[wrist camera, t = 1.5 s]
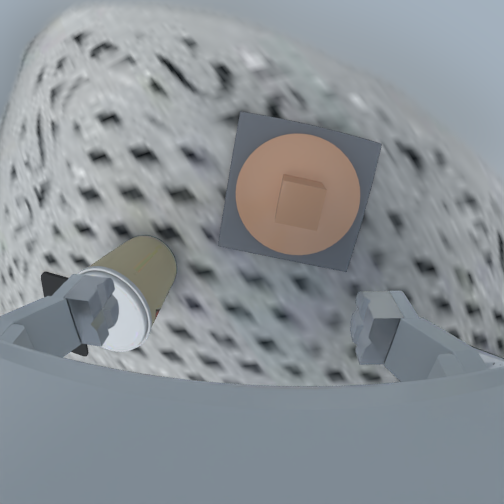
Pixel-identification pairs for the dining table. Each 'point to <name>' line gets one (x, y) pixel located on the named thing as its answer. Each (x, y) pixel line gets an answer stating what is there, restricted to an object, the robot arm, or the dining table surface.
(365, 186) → the mat
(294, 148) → the lid
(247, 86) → the dining table surface
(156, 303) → the coffee cup
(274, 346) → the dining table surface
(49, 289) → the phone
